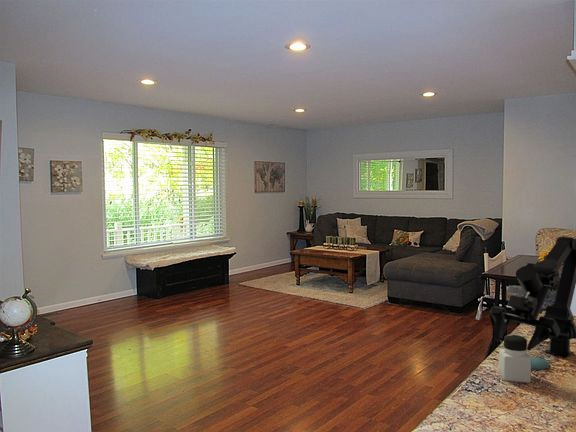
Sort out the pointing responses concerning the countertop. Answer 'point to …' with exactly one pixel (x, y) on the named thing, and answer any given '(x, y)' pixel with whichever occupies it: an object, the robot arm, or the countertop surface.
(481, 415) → the countertop surface
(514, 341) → the medicine bottle
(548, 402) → the countertop surface
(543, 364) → the coaster
